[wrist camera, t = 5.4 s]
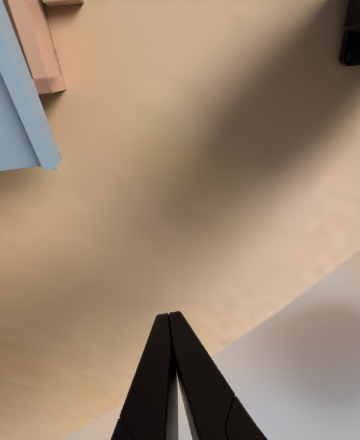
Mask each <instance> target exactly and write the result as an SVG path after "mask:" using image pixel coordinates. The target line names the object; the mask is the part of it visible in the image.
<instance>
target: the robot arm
mask: <svg viewBox="0 0 360 440" xmlns="http://www.w3.org/2000/svg"><path fill="white" fill-rule="evenodd" d="M349 53H350V54H351V57H350V59H349V60H347V57H348V54H349ZM339 62H340V64H341V65H342V66H354V65H360V0H349V4H348V10H347V15H346V21H345V31H344V36H343V42H342V47H341V52H340V58H339ZM177 377H178V382H179V386H180V390H181V395H182V398H183V403H184V407H185V411H186V415H187V419H188V423H189V427H190V431H191V435H192V439H193V440H268V439H267V438H266V437H265V436H264V434H263V433H262V432H261V430H260V429H259V428H258V427H257V426H256V424H255V422H254V421H253V420H252V418H251V417H250V415H249V414H248V413H247V411H246V410H245V408H244V407H243V405H242V404H241V402H240V401H239V399H238V398H237V397H236V396H235V393H234V392H233V390H232V389H231V387H230V386H229V385H228V383H227V381H226V380H225V378H224V377H223V375H222V374H221V372H220V371H219V370H218V368H217V366H216V365H215V363H214V362H213V360H212V358H211V357H210V355H209V354H208V352H207V351H206V349H205V348H204V346H203V345H202V343H201V342H200V340H199V339H198V337H197V336H196V334H195V333H194V331H193V330H192V328H191V327H190V325H189V324H188V322H187V321H186V319H185V318H184V316H183V315H182V313H181V312H180V311H176V312H170V313H169V314H168V313H164V314H158V315H157V316H156V318H155V321H154V324H153V326H152V329H151V332H150V335H149V337H148V340H147V343H146V345H145V348H144V351H143V354H142V356H141V359H140V362H139V364H138V367H137V370H136V373H135V375H134V378H133V381H132V383H131V386H130V389H129V392H128V394H127V397H126V400H125V403H124V405H123V408H122V411H121V414H120V418H119V419H118V422H117V424H116V427H115V429H114V432H113V435H112V437H111V440H178V391H177V390H178V387H177Z"/></svg>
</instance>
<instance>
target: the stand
mask: <svg viewBox="0 0 360 440" xmlns="http://www.w3.org/2000/svg"><path fill="white" fill-rule="evenodd" d="M42 1H43V3H45V4H46V5H48V6H61V5H72V4H84V3H83V0H42Z"/></svg>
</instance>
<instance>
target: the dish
mask: <svg viewBox="0 0 360 440" xmlns="http://www.w3.org/2000/svg"><path fill="white" fill-rule="evenodd" d="M3 3H4V6H5V8H6V11H7V14H8V16H9V19H10V22H11V24H12V27H13V30H14V32H15V35H16V38H17V40H18V43H19V46H20V48H21V51H22V54H23V56H24V59H25V62H26V64H27V67H28V70H29V72H30V75H31V78H32V80H33V83H34V86H35V88H36V91H37V93H38V94H46V93H54V92H58V91H62V90H66V87H65V84H64V80H63V77H62V73H61V69H60V66H59V62H58V58H57V55H56V51H55V48H54V44H53V40H52V37H51V33H50V30H49V26H48V22H47V19H46V15H45V11H44V8H43V4H42V1H41V0H3Z"/></svg>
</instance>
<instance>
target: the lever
mask: <svg viewBox="0 0 360 440" xmlns="http://www.w3.org/2000/svg"><path fill="white" fill-rule="evenodd" d="M61 159H62V157H61V155H60V152H59V149H58V147H57V144H56V141H55V139H54V136H53V133H52V131H51V128H50V125H49V123H48V120H47V117H46V115H45V112H44V109H43V107H42V104H41V101H40V99H39V96H38V93H37V91H36V88H35V86H34V83H33V80H32V78H31V75H30V72H29V70H28V67H27V64H26V62H25V59H24V56H23V54H22V51H21V48H20V46H19V43H18V40H17V38H16V35H15V32H14V30H13V27H12V24H11V22H10V19H9V16H8V14H7V11H6V8H5V6H4V3H3V0H0V171H4V170H12V169H21V168H29V167H37V166H42V168H43V171H47V170H55V169H57V167H58V165H59V163H60V161H61Z"/></svg>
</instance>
